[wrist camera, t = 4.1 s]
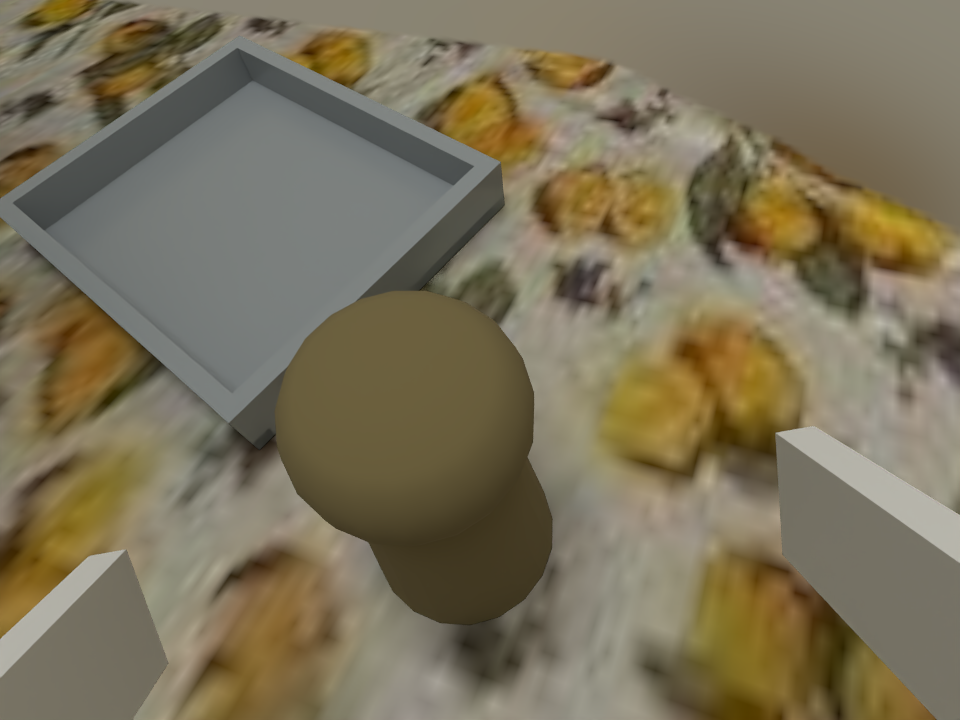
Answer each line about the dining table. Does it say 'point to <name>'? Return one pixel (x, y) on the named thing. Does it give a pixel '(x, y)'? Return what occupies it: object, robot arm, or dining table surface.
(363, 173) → the tray
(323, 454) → the cork
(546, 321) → the dining table surface
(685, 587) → the dining table surface
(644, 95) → the dining table surface
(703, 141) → the dining table surface
